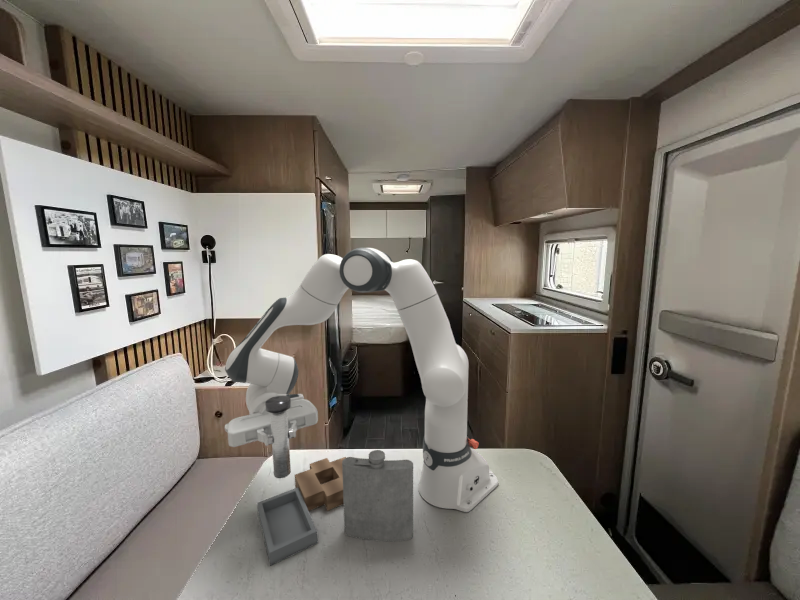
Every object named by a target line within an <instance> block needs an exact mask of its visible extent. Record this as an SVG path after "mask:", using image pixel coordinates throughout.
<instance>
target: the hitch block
mask: <svg viewBox="0 0 800 600" xmlns="http://www.w3.org/2000/svg"><path fill="white" fill-rule="evenodd" d="M345 458H347V457H346V456H344V457H343V456H342V457H341V458H339V459H336V460H335V459H334V460H332V461H330V460H329V458H328V457H325V458H322V459H320V460H316V461H314V462H311V463H309V469H306V470H304V471H302V472H299V473H296V474H294V485H295V487H294V489H295V488H297V487H298V488H299V490H300V492H301V495H302V497H303V499H304V501H305V504H306V506H307V508H308V511H309V512H311V511H313V510H315V509H317V508H320V507H322V506H324V507H325V508H326V511H327V512H329V511H331V510H333V509H335V508H337V507H341V506H342V505H344V502H343V473H342V461H343V459H345Z"/></svg>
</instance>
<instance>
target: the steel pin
mask: <svg viewBox="0 0 800 600" xmlns="http://www.w3.org/2000/svg"><path fill="white" fill-rule="evenodd" d="M265 404H266V411H267V412H270V420H271V435H272V438H273V440H272V441H273V444H271V447H272V449H271V450H272V462H273V463H272V464H273V465H272V466H273V476H274V478H276V479H284V478H286V477H288V476H289V475H291V472H292V470H291V468H292V467H291V452H290V451H291V450H290V439H289V431H288V413H287V410H288V409H289V408H290V407H291V399H290V397H288V396H275V397H272V398H270V399H268V400H267V401H266V402H265Z"/></svg>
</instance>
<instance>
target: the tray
mask: <svg viewBox="0 0 800 600" xmlns="http://www.w3.org/2000/svg"><path fill="white" fill-rule="evenodd" d="M256 506H257V517H258V519H259V523H260V528H261V532H262V537H263V541H264V545H265V549H266V554H267V557H268V558H267V559H268V562H269V563H268V564H269V566H270V567H271V566H272V565H275V564H277V563H279V562H281V561H283V560H285V559H288V558H290V557H292V556H294V555H296V554H298V553H301V552H302V551H304V550H306V549H309V548H310V547H312V546H314V545H317V544H318V543H319V539H318V538H319V535H318V529H317V527H316V525H315V522H314V521H313V520H314V519H313V518H312V515H311V513H310V511H308V508H307V506H306V504H305V501H304V499H303V497H302V495H301V492H300V490H299V488H298V487H297V488H295V487H294V488H292V489H290V490H287V491H284V492H282V493H279V494H277V495H274V496H271V497H268V498H266V499H263V500H260V501H258V502H256Z"/></svg>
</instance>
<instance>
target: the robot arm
mask: <svg viewBox="0 0 800 600" xmlns="http://www.w3.org/2000/svg"><path fill="white" fill-rule="evenodd" d="M349 289H350V290H351V291H354V292H357V293H373V292H383V291H386V293H388V294H389V296H390V297H391V300H392V301H393V303H394V305H395V308H396V310H397V312H398V316H399V317H400V318H399V319H400V320H401V322H402V324H403V327H404V329H405V332H406V334H407V337H408V340H409V343H410V346H411V350H412V353H413V357H414V361H415V365H416V368H417V371H418V374H419V378H420V383H421V388H422V392H423V395H424V397H425V406H424V436H423V439H422V458H423V463H422V469H421V474H420V479H419V480H418V484H417V485H418V487H417V489H418V492H419V494H420V495H419V496H421V498H423V499H424V500H425V501H426V502H427V503H428V504H430V505H432V506H434V507H436V508H440V509H447V510H448V509H454V510H458V511H460V512H464V513H468V512H471V510H473V509H474V508H475V507H476V506H477V505H478V504H479V503H480V502H482V501H483V499H485V498H486V497H487V496H488V495H489V494H490V493H491V492H492V491H494V489H496V488H497V487H498V486H499V479H498V477H497V476H496V474H494V472H493V471H492V470H491V469H490V466H489V463H488V461H487V460H486V458H484V456H483V455H482V454H481V453H479V452H478V451H477V449H478V447H479V445H480V444H479V443H480V442H478V441H477V440H475V439H474V438H471V439H470V438H469V436H467V435H468V399H469V397H468V396H469V369H470V368H469V366H470V365H469V359H468V355H467V353H466V352H465V350H464V349H463V348H462V346H460V345H459V344H457V343H456V340H455V337H454V334H453V330H452V328H451V324H450V320H449V318H448V316H447V313H446V311H445V309H444V305H443V303H442V301H441V299H440V296H439V293H438V292H437V289H436V287H435V286H434V284H433V281H432V280H431V278H430V276H429V274H428V273H427V271H426V269H425V268H424V266H423V265H422V263H421V262H420V261H418V260H416V259H411V258H409V259H408V258H407V259H402V260H400V261H397V262H393V260H392V258H391V257H390V256H389V255H388V254H387V253H386V252H385V251H382V250H379V249H377V248H373V247H357V248H354V249H352V250H350V251H348V252H347V253H346V254H345V255H344V256H343V257H341V256H340V255H336V254H331V253H325V254H323V255H321V256H320V257H318V258H317V260H316V261H315V262H314V264H313V265H311V267H310V269H309V270H308V272H307V273H306V275H305V277H304V278H303V280H302V281H301V283H300V284H299V287H297V289H296V290H295V291H293V292H292V293H291V294H290V295H288V296H286V297H279V298H278V299H276V300H275V301H274V303H273V304H271V305H270V306H269V308H267V310H266V311H265V312H264V313H263V315H262V316H261V317H260V319H259V320H258V321H257V322H256V323H255V325H254V326H253V328H252V329H250V331H249V332H248V334H247V335H246V336H245V337H244V338H243V340H242V341H241V342H239V344H237V346H236V347H235V348H233V350H232V351H231V352H230V354H228V357H227V360H226V362H225V368H224V371H225V373H226V375H227V376H228V378H229V379H230V381H232V382H233V383H239V384H240V383H241V384H249V385H248V386H247V389H246V393H245V403H246V407H247V410H248V413H249V414H247V415H243V416H239V417H235V418H232V419H231V420H230V421H229V422H228V423H225V425H224V431H225V432H226V433H227V442H228V446H229V447H232V448H236V447H241V446H243V445H246V444H247V445H248V444H251V443H254V442H257V441H258V442H260V443H263V444H264V445H265V447H266V446H270V445H272V444H273V441H272V440H273V438H272V435H271V420H270V412H267V411H266V404H265V402H266V401H267V400H268V399H270V398H272V397H275V396H288V397H290V399H291V407H290V408H289V409H288V410H287V413H288V431H289V440H290V439H293V438H296V437H297V434H296V433H297V431H298V430H300V429H304V428H307V427H311V426H315V425H316V424H317V423H318V422H319V413H318V409H317V407H316V406H315V405H314V404H313V403H312V402H311V400H309V399H306V398H305V397H304V395H303V393H291V392H292V391H293V389H294V388H295V386H296V384H297V380H298V377H299V367H298V363H297V361H296V359H295V357H293V356H291V355H288V354H284V353H280V352H275V351H272V350H268V349H265V348H262V347H263V346H264V344H265V343H266V342H267V340H269V338H270V337H271V336H272V334H273V333H274V332H275V331H277V330H278V329H280V328H283V327H287V326H298V325H299V326H314V325H317V324H321V323H323V322H326V321H327V320H328V319H330V317H331V316H332V315H333V313H334V312H335V310H336V309H337V307H338V305H339V303H340V302H341V301H342V298H343V296H344V295H345V293H346V292H347V291H348V290H349Z"/></svg>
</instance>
